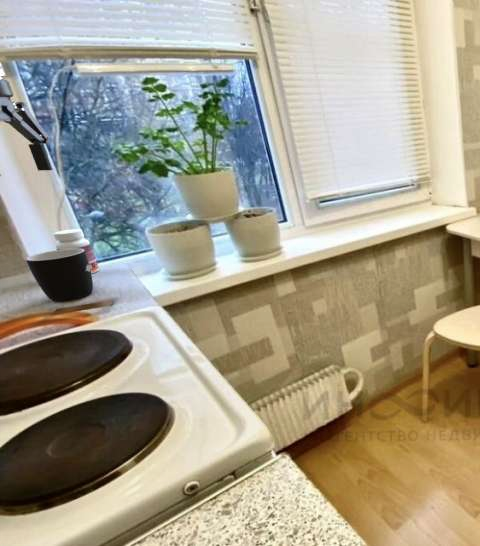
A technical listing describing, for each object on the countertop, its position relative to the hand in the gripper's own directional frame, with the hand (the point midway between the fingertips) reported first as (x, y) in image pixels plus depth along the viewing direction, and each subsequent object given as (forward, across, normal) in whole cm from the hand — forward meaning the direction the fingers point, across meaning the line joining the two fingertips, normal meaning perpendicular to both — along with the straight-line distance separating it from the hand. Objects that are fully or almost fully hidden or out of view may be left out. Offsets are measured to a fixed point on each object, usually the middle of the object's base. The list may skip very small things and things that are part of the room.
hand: (20, 173), depth 102 cm
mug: (+26, -19, -17) cm, 36 cm away
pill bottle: (+26, -2, -7) cm, 27 cm away
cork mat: (+26, -30, -27) cm, 48 cm away
